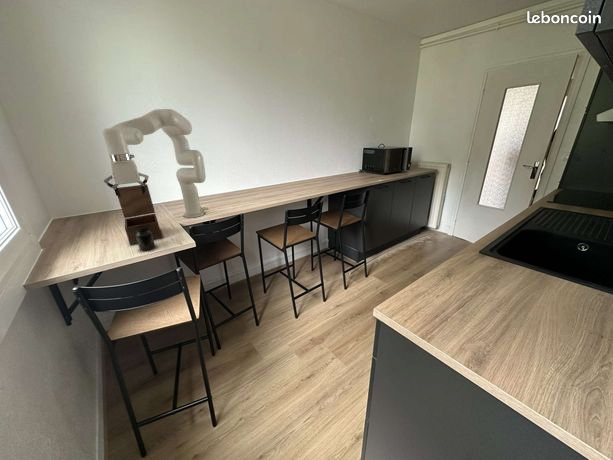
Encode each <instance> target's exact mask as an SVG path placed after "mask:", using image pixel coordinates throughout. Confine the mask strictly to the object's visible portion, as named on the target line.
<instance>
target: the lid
mask: <svg viewBox="0 0 613 460" xmlns="http://www.w3.org/2000/svg"><path fill="white" fill-rule="evenodd" d="M148 186H149V185H148V184H147V183H146V184H145V185H144V187H145V191H146V192H144V194H143V193H142V189H141V185H140V184H137V185H129V186H121V187H117V188H118V189H119V192H120V196H121V197H120V198H119V197H118V196H117V199H118V203H119V206H120V209H121V212H122V215H123V218H124V219H127V218H133V217H138V216H144V215H150V214H156V211H155V207H154V204H153V201H152V197H151V193H150V189H149V187H148Z"/></svg>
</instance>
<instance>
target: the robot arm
mask: <svg viewBox="0 0 613 460" xmlns="http://www.w3.org/2000/svg"><path fill="white" fill-rule="evenodd" d="M160 129H161V130H162V131H163V132H164V134H165V135H167V136H168V138H169V139H170V140H171V142H172V144H173V145H172V146H173V149H174V155H175V161H176V163H177V164H178V165H179V166H185V167H180V168H178V169H177V170H176V172H175V173H176V174H175V175H176V179H177V182H178V184H179V186H180V190H181V194H182V199H183V204H184V208H185V212H184V214H183V216H184V217H185V218H189V219H191V218H198V217H201V216H204V215H205V211H209V207H208V206H207V207H206V206H203V207H202V205H201V202H200V201H201V200H200V195H199V191H198V188H197V185H196V184H203V183H204V182H206V178H207V177H206V168H205V161H204V160H205V159H204V156H203V154H202V152H201V151H200V150H197V149H190V144H189V140H188V139H187V137H186V136H188V135H190V134H191V133H192V131H193V126H192V124H191V122H190V120H188V119H187V118H186V117H185V116H184V115H182V114H181V113H179V112H178V111H176V110H174V109H172V108H157V109H156V108H155V109H153V110H151V111H149V112H147V113H145V114H143V115H142V116H139V117H135V118H132V119H129V120H125V121H123V122H119V123H117V124H115V125H113V126H111V127H110V128H109V127H108V128H103V129H102V136H103V140H104V142H105V145H106V149H107V151H108V155H109V158H110V161H109V167H110V168H109V169H110V172H111V173H110V174H111V175H109V176H108V177H105V178H104V179H103V182H104V183H105V184H106V185H107V186H108V187H109V188H111V189H113V190H114V194H115V196H117V198H118V197H119V198H120V197H121V196H120V192H119V189H118V188H119V187H118V186H119V185H130V184H138V185H141V189H142V193H143V194H144V192H146V191H145V187H144V185H145V184H147V182H148V180H149V175H148V174H145V173H141V172H139V170H138V167H137V165H136V162H135V160H134V158H135V154H131V153H130V150H129V146H137V145H140V144H142V143H143V141H144V138H145V137H144V136H149V135H152V134H154V133H156V132H157V131H159V130H160ZM187 166H189V167H187ZM191 166H192V167H191ZM141 177H142V178H144V179H143V180H141ZM111 180H113V183H114V184H113V183H111V182H110V181H111Z"/></svg>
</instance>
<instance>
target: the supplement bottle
mask: <svg viewBox="0 0 613 460" xmlns="http://www.w3.org/2000/svg"><path fill="white" fill-rule="evenodd" d="M136 231H137V233H136V239H137V242H138V244H137V245H138V248H139V250H140V251H141V252H149V251H153V250H154V249H155V248H156V243H155V240H154V239H153V236H152V232H151V231H150V230H148V227H147V225H141V226H138V227H136Z"/></svg>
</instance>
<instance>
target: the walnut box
mask: <svg viewBox="0 0 613 460" xmlns="http://www.w3.org/2000/svg"><path fill="white" fill-rule="evenodd" d="M141 225H147V227H148V230H150V231H151V232H152V236H153V239H154V241H158V240H162V239H163V236H162V232H161V229H160V225H159V221H158V218H157V215H156V213H151V214H146V215H140V216H134V217H128V218H124V230H125V233H126V236H127V240H128V242H129V246H134V245H138V242H137V239H136V233H137V231H136V227H138V226H141Z"/></svg>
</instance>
